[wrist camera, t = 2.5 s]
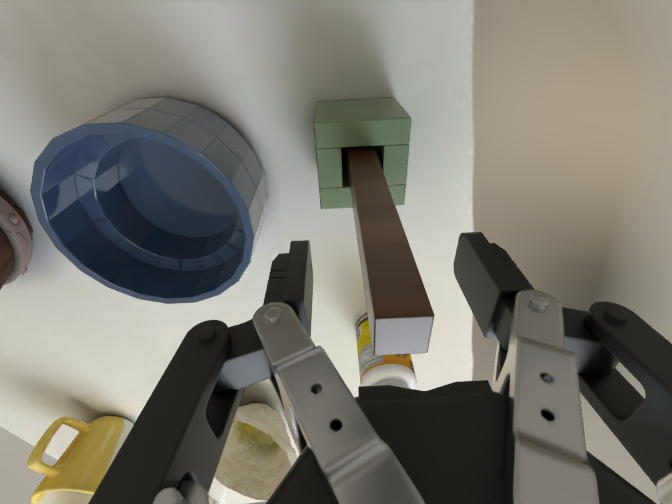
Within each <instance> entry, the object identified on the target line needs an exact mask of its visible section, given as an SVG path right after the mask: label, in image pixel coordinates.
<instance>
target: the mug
mask: <svg viewBox="0 0 672 504" xmlns="http://www.w3.org/2000/svg"><path fill="white" fill-rule="evenodd" d="M62 424H65V425H68V426H70V427H72V428H74V429H76V430H78V431H79V434H78V435H77V436H76V437H75V439H74V440H73V441H72V443H71V444H70V445H69V447H68V448H67V449H66V451H65V452H64V453H63V455H62V456H61V457H60V458H59V460H58V461H57V462H56V464H55V465H54V466H50V465H47V464H45V463H44V462H42V460H41V458H42V455H43V453H44V451H45V449H46V447H47V445H48V443H49V442H50V440H51V438H52V437H53V435H54V434H55V432H56V431H57V430H58V428H59V427H60V426H61V425H62ZM133 426H134V424H133V423H132V422H131V421H129V420H127V419H125V418H122V417H117V416H103V417H100V418H97V419H96V420H94V421H92V422H90V423H88V424H87V423H85V422H82V421H80V420H77V419H74V418H70V417H62V418H60V419H58V420H56V421H55V422H54V423H53V424H52V425H51V426H50V427H49V428H48V429H47V430H46V432H45V433H44V434H43V436H42V437H41V439H40V440H39V442H38V443H37V445H36V446H35V448H34V450H33V451H32V453H31V455H30V457H29V459H28V462H27V466H28V468H30V469H32V470H34V471H37V472H39V473H42V474H44V475H46V477H45V478H44V479H43V481H42V482H41V483H40V485H39V486H38V487H37V489H36V490H35V492H34V493H33V494H32V496H31V499H30V500H31V503H32V504H88V503H89V501H90V500H91V498H92V496H93V494H94V493H95V491H96V489H97V488H98V486H99V484H100V482H101V481H102V479H103V477H104V476H105V474H106V472H107V470H108V469H109V467H110V465H111V463H112V462H113V460H114V458H115V457H116V455H117V453H118V451H119V450H120V448H121V446H122V444H123V443H124V441H125V439H126V438H127V436H128V434H129V432H130V431H131V429H132V427H133Z"/></svg>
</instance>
